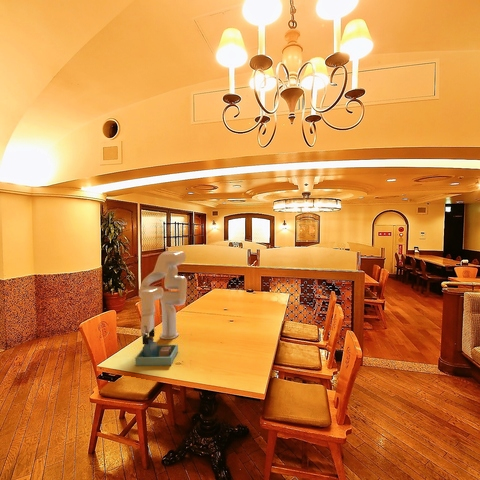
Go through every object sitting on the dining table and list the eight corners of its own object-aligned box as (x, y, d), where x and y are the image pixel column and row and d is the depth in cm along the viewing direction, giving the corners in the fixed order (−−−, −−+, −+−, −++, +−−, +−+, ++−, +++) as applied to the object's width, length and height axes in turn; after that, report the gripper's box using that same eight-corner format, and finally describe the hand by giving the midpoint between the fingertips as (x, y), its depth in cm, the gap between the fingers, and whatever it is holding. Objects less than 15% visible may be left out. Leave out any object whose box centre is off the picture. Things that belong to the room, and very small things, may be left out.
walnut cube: (162, 355, 149) (162, 346, 149) (171, 355, 149) (170, 346, 149) (159, 359, 144) (159, 350, 144) (168, 359, 144) (168, 350, 144)
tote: (145, 352, 154) (145, 345, 154) (177, 351, 154) (177, 344, 154) (135, 365, 139) (135, 357, 139) (171, 365, 139) (170, 357, 139)
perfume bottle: (142, 358, 146) (142, 337, 145) (151, 353, 151) (151, 334, 151) (149, 361, 143) (149, 340, 142) (158, 356, 148) (158, 336, 147)
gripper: (147, 306, 154) (147, 334, 155) (135, 316, 137) (136, 347, 138) (159, 306, 154) (159, 334, 155) (149, 316, 137) (150, 347, 138)
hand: (148, 340), depth 146 cm, fingers open, 9 cm apart
